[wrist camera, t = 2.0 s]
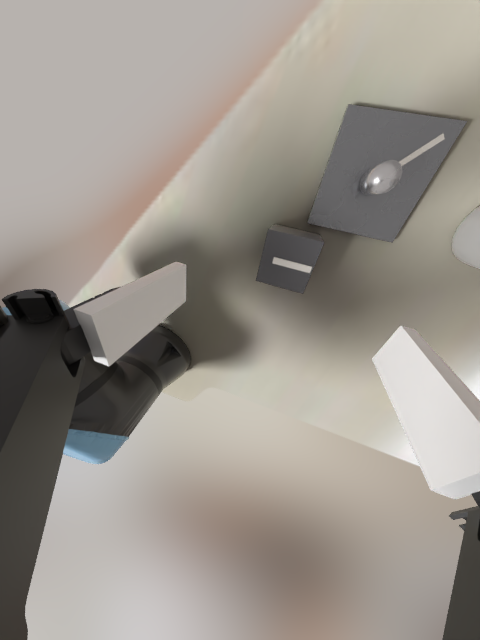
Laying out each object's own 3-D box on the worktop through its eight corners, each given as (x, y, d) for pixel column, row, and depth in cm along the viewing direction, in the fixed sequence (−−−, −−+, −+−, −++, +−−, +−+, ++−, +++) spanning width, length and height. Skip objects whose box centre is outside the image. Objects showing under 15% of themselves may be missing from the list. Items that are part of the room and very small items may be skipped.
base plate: (307, 222, 24) (308, 225, 20) (346, 108, 18) (358, 84, 14) (388, 241, 22) (406, 248, 19) (459, 125, 17) (503, 103, 13)
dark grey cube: (263, 267, 28) (255, 281, 23) (274, 223, 25) (267, 229, 20) (302, 277, 27) (302, 294, 22) (319, 234, 24) (324, 242, 19)
